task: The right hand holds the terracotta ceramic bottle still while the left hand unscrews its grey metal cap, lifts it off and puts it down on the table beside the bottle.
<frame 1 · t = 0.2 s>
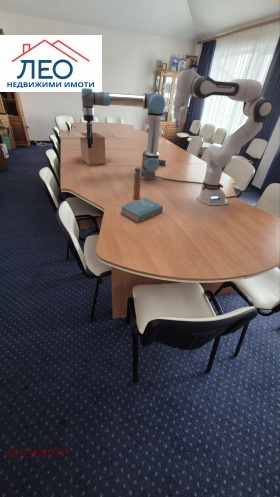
left hand: (90, 146, 173), 28 cm above the table, tool pointing down, fingers open, 13 cm apart
right hand: (178, 128, 140), 48 cm above the table, tool pointing down, fingers open, 8 cm apart
book: (141, 213, 147), on the table
box: (93, 161, 237), on the table
cap: (138, 168, 154), point 22 cm above the table, screwed on, not yet turned
laser sight: (154, 165, 239), on the table
bottle: (136, 197, 167), on the table
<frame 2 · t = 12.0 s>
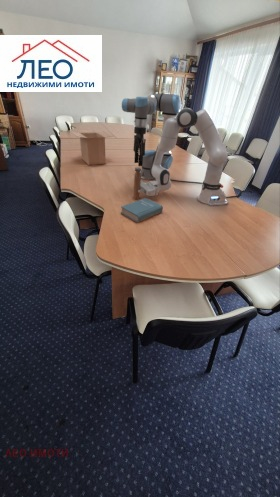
left hand: (138, 164, 152), 25 cm above the table, tool pointing down, fingers open, 6 cm apart
right hand: (135, 189, 162), 7 cm above the table, tool horizontal, fingers closed on bottle, 5 cm apart
bottle: (136, 197, 167), on the table, touching right hand
everything else where it was.
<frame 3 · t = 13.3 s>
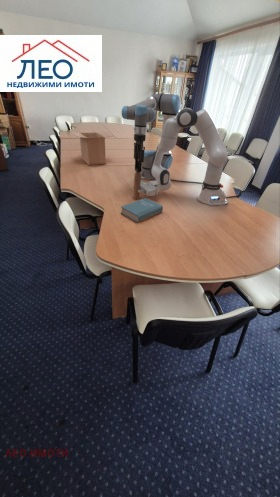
left hand: (137, 170, 155), 20 cm above the table, tool pointing down, fingers closed on cap, 4 cm apart
right hand: (135, 189, 162), 7 cm above the table, tool horizontal, fingers closed on bottle, 5 cm apart
cap: (138, 168, 154), point 22 cm above the table, screwed on, not yet turned, touching left hand
bottle: (136, 197, 167), on the table, touching right hand
everything else where it was.
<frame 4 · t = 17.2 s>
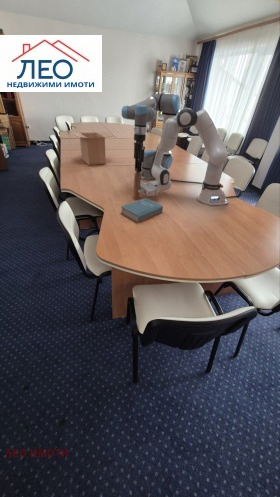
left hand: (137, 170, 155), 20 cm above the table, tool pointing down, fingers closed on cap, 4 cm apart
right hand: (135, 189, 162), 7 cm above the table, tool horizontal, fingers closed on bottle, 5 cm apart
cap: (138, 168, 154), point 22 cm above the table, turned 115° so far, risen 0.1 cm, still on its thread, touching left hand
bottle: (136, 197, 167), on the table, touching right hand
everything else where it was.
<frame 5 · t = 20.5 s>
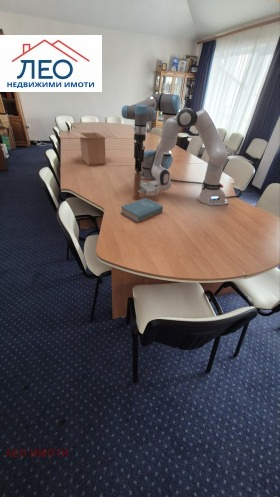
left hand: (137, 170, 155), 21 cm above the table, tool pointing down, fingers closed on cap, 4 cm apart
right hand: (135, 189, 162), 7 cm above the table, tool horizontal, fingers closed on bottle, 5 cm apart
cap: (138, 168, 154), point 22 cm above the table, turned 231° so far, risen 0.2 cm, still on its thread, touching left hand
bottle: (136, 197, 167), on the table, touching right hand
everything else where it was.
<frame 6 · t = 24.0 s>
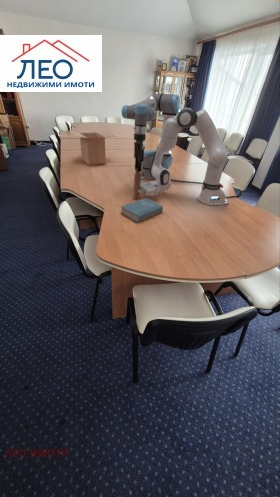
left hand: (137, 170, 155), 21 cm above the table, tool pointing down, fingers closed on cap, 4 cm apart
right hand: (135, 189, 162), 7 cm above the table, tool horizontal, fingers closed on bottle, 5 cm apart
cap: (138, 168, 154), point 22 cm above the table, turned 346° so far, risen 0.4 cm, still on its thread, touching left hand
bottle: (136, 197, 167), on the table, touching right hand
everything else where it was.
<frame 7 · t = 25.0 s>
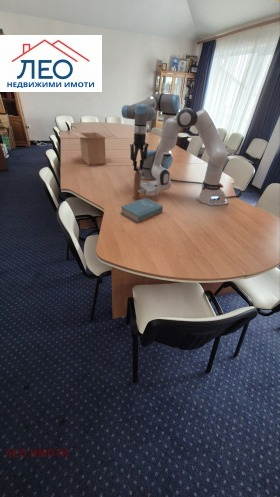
left hand: (138, 170, 154), 21 cm above the table, tool pointing down, fingers closed on cap, 4 cm apart
right hand: (135, 189, 162), 7 cm above the table, tool horizontal, fingers closed on bottle, 5 cm apart
cap: (138, 168, 154), point 22 cm above the table, off its thread, touching left hand
bottle: (136, 197, 167), on the table, touching right hand
everything else where it was.
when the left hand's fingers open (1 cm above the table, at t = 31.9 s): cap drops 1 cm, point 1 cm above the table.
when the right hand's fingers open (7 cm above the table, at t = 33.2 s): bottle stays where it is, on the table.
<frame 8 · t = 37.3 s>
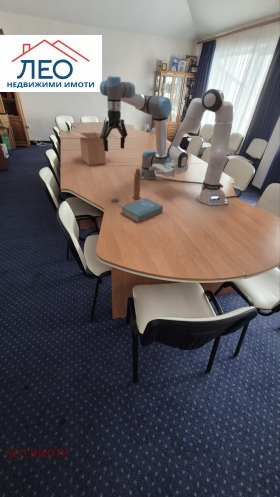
left hand: (114, 149, 139), 35 cm above the table, tool pointing down, fingers open, 13 cm apart
right hand: (152, 170, 161), 19 cm above the table, tool horizontal, fingers open, 8 cm apart
cap: (114, 199, 159), point 1 cm above the table, off its thread
bottle: (136, 197, 167), on the table
everything else where it was.
at the end: cap came off its thread; cap point 1.3 cm above the table; the left hand is holding nothing; the right hand is holding nothing; bottle tilted 0°; bottle moved 0.0 cm from its start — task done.
